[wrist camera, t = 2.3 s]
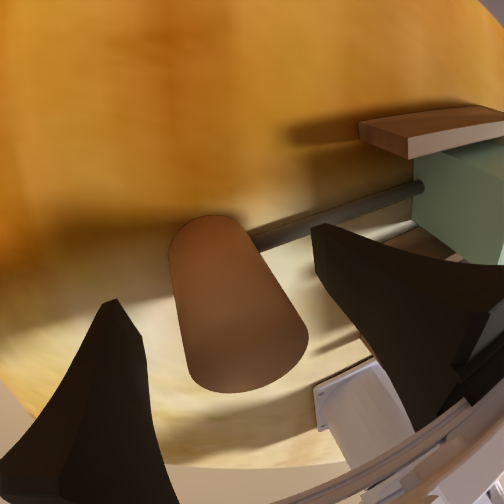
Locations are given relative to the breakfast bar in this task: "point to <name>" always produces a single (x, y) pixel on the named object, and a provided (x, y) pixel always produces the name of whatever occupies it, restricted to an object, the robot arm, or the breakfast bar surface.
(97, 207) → the breakfast bar surface
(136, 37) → the breakfast bar surface
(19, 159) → the breakfast bar surface
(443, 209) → the tethered block
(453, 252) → the walnut rack
